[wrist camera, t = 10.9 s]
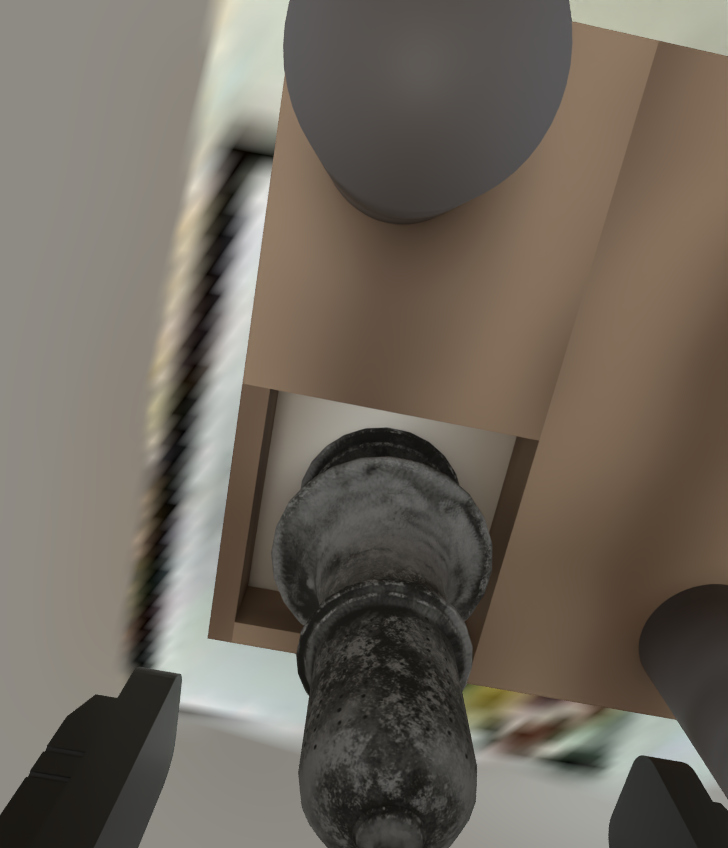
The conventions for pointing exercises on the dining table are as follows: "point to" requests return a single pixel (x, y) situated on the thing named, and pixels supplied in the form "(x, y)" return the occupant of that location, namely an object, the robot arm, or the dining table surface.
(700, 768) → the dining table surface
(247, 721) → the dining table surface
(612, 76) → the wooden peg stand
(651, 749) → the dining table surface
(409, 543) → the grey chess piece
